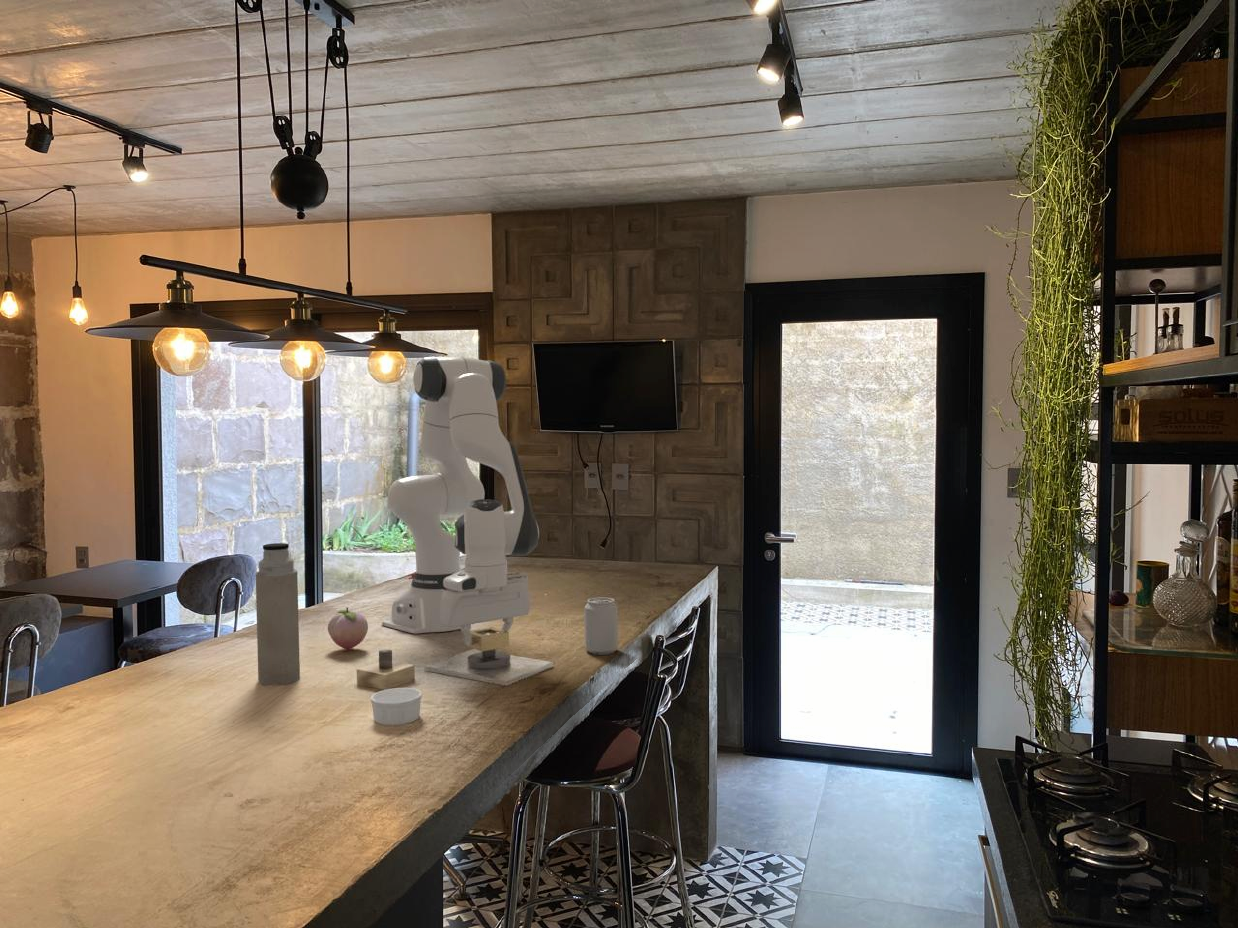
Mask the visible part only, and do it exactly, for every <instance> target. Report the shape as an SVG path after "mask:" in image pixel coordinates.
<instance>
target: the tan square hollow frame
mask: <svg viewBox="0 0 1238 928" xmlns="http://www.w3.org/2000/svg"><path fill="white" fill-rule="evenodd" d="M469 632H470V634H471V635H473V636H475V637H476V640H475V642H476V644H474V645H469V646H468V645H466V644H465V646H466V647H468V648H471V649H476V650H479V651H481V652H483V651H488V650H493V649H495V650H497V649H502V648H503V649H504V648H509V647H510V634H509V633H510V631H509V632H506V631H503V630H502V629H500V628H497V627H494V626H491V627H485V628H480V629H474V630H469ZM486 632H493V634H488V635H482V633H486Z"/></svg>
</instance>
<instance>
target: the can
mask: <svg viewBox="0 0 1238 928" xmlns="http://www.w3.org/2000/svg"><path fill="white" fill-rule="evenodd" d="M618 609H619V608H618V605H617V604H616V603H615V599H614V598H611V597H602V596H601V597H592V598H588V599H587V603H586V604H585V606H584V649H585V650H586V651H587V652H588V651H589V652H590V653H589V652H588V653H589V654H591V653H593V654H592V655H597V654H598V655H599V656H602V655H610V654H614V653H615V651H616V650H617V649H618V648H619V647H618V646H619V641H618V640H619V638H618V637H619V633H618V632H619V629H618V628H619V626H618V624H619V623H618V619H619V617H618V614H619V613H618Z"/></svg>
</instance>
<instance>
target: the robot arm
mask: <svg viewBox="0 0 1238 928" xmlns="http://www.w3.org/2000/svg"><path fill="white" fill-rule="evenodd" d="M412 377H413V378H412V380H413V381H412V382H413V387H414V391H415V393H416V395H417V396H418V397H419V398H420V399H422V400H424V401H425V405H424V410H423V417H422V425H421V435H420V445H419V447H420V450H421V452H422V454H423V455H424V457H425V458H426V459H428V460H429V461H431V462H433V463H434V464H436V470H437V471H436V474H425V475H422V474H421V475H410V476H407V477H402V478H399V479H396V480H394V481H393V482H392V484H391V485H390V487H389V489H388V492H387V498H386V499H387V504H388V507H389V509H390V511H391V513H393V515H394V516H395V517H397V518H398V519H399V520H401V522H402V523H404V525H406V527H407V529H408V530H409V533H411V537H412V539H413V543H414V549H415V551H414V552H415V569H416V570H415V572H414V573H411V574H408V575H407V576H409V577H408V578H407V579H408V580H411V583H410V586H409V587H408V588H407V589H405V591H403V593H402V594H400V595H399V596H398V597H396V598H395V599H394V601H393V602H392V605H391V612H390V613H391V616H390V617H387V618H386V619H383V620H382V622H381V625H382V626H383V627H387V628H391V629H396V630H399V631H403V632H407V633H410V634H423V633H424V634H426V633H441V632H444V633H445V632H451V631H456V630H461V631H460V632H462V634H463V636H464V639H465V640H464V641H465V646H466V645H468V646H469V645H474V644H476V642H475V640H476V637H475V636H473V635H471V634H470V632H469V631H470V630H471V629H472V625H474V624H480V623H481V624H482V623H486V622H493V621H499V620H502V622H504V623H503V625H502V627H501V630H503V631H506V632H509V633H510V629H511V628H512V625H513V624H514V618H515V617H516V618H517V617H522V616H527V615H529V613H530V611H531V598H530V592H529V577H528V576H527V575H526V574H524V573H523V572H516V573H508V561H507V557H506V556H518V557H520V556H522V557H525V556H527V555H529V554H530V553H531V552H533V551H534V549H535V548H537V546H538V544H539V539H540V530H539V529H540V528H539V525H538V522H537V520H536V516H535V513H534V511H533V507H532V504H531V503H532V502H531V499H530V497H529V491H528V489H527V488H528V487H527V485H526V484H527V483H526V480H525V477H524V475H525V474H524V472H523V469H522V464H521V461H520V457H519V455H518V451H517V449H516V446H515V444H514V443H513V442H511V441H510V440H508V439H507V438H506V437H505V436H504V434H503V432H502V429H501V428H500V422H499V412H498V411H499V410H498V403H497V402H499V401H500V400H501V399H502V398H503V396H504V394H505V391H506V386H507V374H506V371H505V369H504V368H503V366H502V364H500V363H499V362H496V361H493V360H490V359H489V360H488V359H487V360H482V359H478V358H472V357H464V356H461V357H454V356H453V357H452V356H450V357H449V356H447V357H437V356H428V357H427V356H426V357H422V358H421V359H420V360H419V361H418V362H417V364H416V366H415V370H414V371H413V376H412ZM467 459H468V460H470V461H473V462H476V463H479V464H482V465H484V466H487V467H490V468H492V469H494V470H495V471H497V472H498V473H500V475H502V477H503V479H504V482H505V486H506V488H507V494H508V498H509V501H510V506H511V510H508V511H504V506H503V504H502V502H500V501H498V500H495V499H490V498H489V499H488V498H485V488H484V485H483V483H482V481H481V479H480V478H478V476H476V475H475V474H474V473H473V472H472V470H471V469H470V466H469V464H468V460H467ZM458 516H459V518H458V519H457V520H456V521H455V522H454V529H455V531H454V532H455V535H454V534H452V533H451V532H449V531H446V530H444V528H443V527H442V523H441V518H449V517H458ZM461 554H463V555H466V556H465V560H464V568H462V569H461ZM410 576H411V577H410ZM468 646H467V647H468Z"/></svg>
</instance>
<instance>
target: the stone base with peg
mask: <svg viewBox="0 0 1238 928" xmlns="http://www.w3.org/2000/svg"><path fill="white" fill-rule="evenodd" d="M488 634H493V632H486V633H482V635H488ZM423 668H424V669H423V671H426V672H431V673H435V674H441V675H445V676H446V675H447V676H451V677H456V678H463V679H468V680H474V681H478V682H483V683H484V682H485V683H488V682H489V684H493V683H494V684H493V685H499V684H500V686H504V685H505V687H507V685H508V686H509V685H513V684H515V683H517V682H519V680H520V681H522V680H524V678H525V679H526V678H529V677H533V676H534V675H536V674H539V673H541V672H544V671H546V670H549V669H551V668H554V661H549V660H543V659H536V658H529V657H524V656H519V655H518V656H517V655H512V654H509V653H506V652H503V651H497V649H493V650H488V651H483V652H481V651H479V650H476V649H473V648H471V649H469V650H467V651H464V652H461V653H457V654H454V655H452V656H449V657H446V658H443V659H440V660H438V661H437V660H436V661H434V662H432V663H428V664H425V665H423ZM521 679H522V680H521ZM514 682H515V683H514ZM512 683H513V684H512Z"/></svg>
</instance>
